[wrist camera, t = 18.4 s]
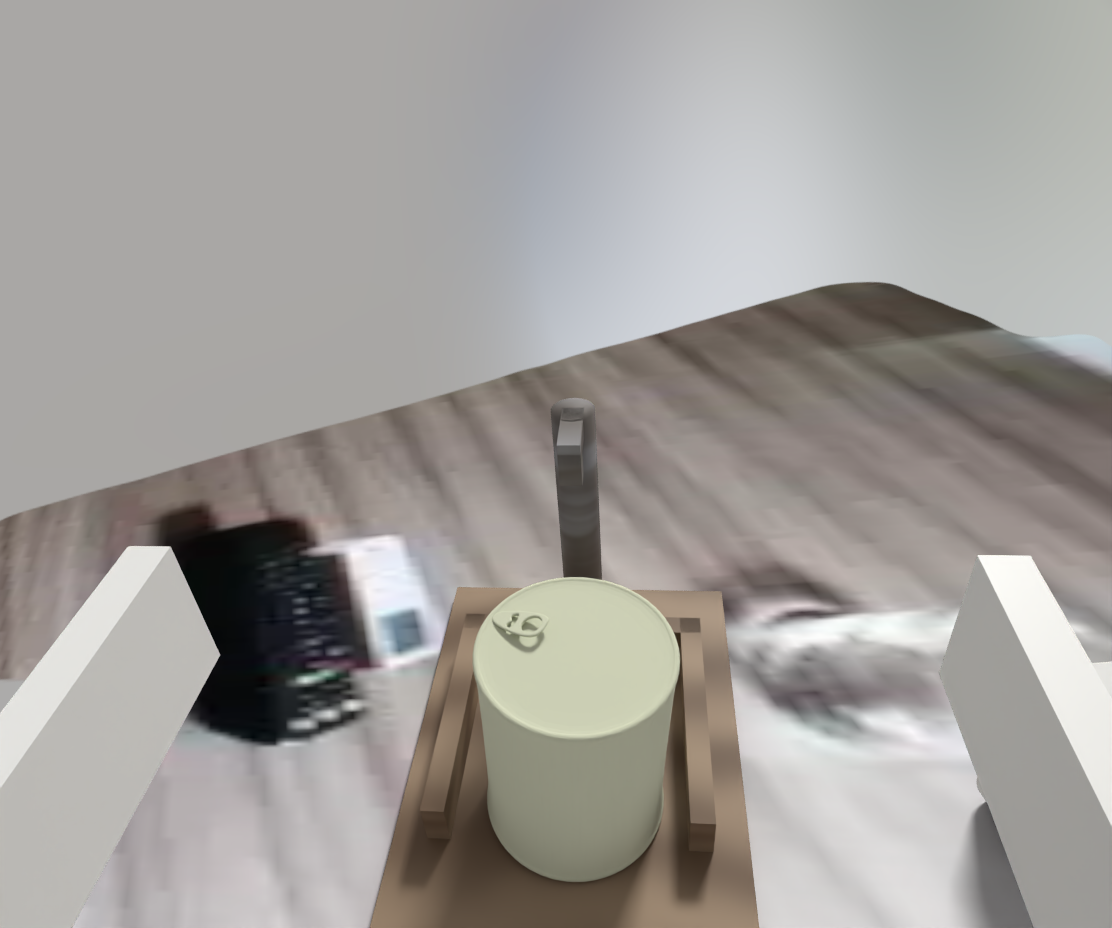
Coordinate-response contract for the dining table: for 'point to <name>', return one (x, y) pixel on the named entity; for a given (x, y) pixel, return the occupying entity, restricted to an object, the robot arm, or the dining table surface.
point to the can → (575, 724)
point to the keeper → (688, 784)
